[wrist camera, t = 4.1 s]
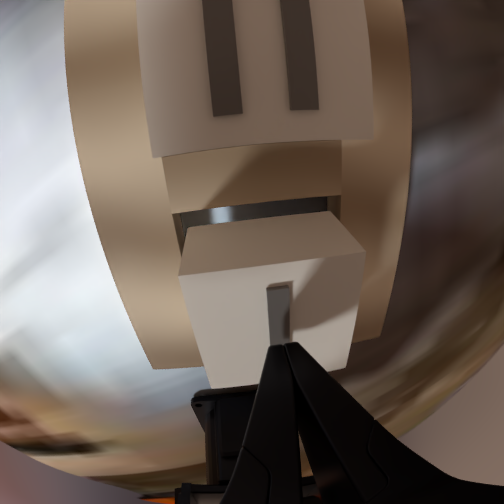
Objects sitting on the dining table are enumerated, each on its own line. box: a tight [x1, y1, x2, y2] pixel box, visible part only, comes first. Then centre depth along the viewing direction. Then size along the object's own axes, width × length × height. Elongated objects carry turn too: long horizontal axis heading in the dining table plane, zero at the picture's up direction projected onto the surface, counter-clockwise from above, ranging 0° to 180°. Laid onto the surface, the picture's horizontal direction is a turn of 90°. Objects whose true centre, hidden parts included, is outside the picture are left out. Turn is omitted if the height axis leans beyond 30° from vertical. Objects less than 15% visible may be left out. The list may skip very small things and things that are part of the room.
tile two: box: [136, 0, 374, 158], centre depth 6 cm, size 5×5×3 cm
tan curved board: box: [64, 0, 412, 369], centre depth 8 cm, size 26×12×2 cm, turn 5°
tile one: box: [178, 211, 366, 389], centre depth 10 cm, size 5×5×3 cm
